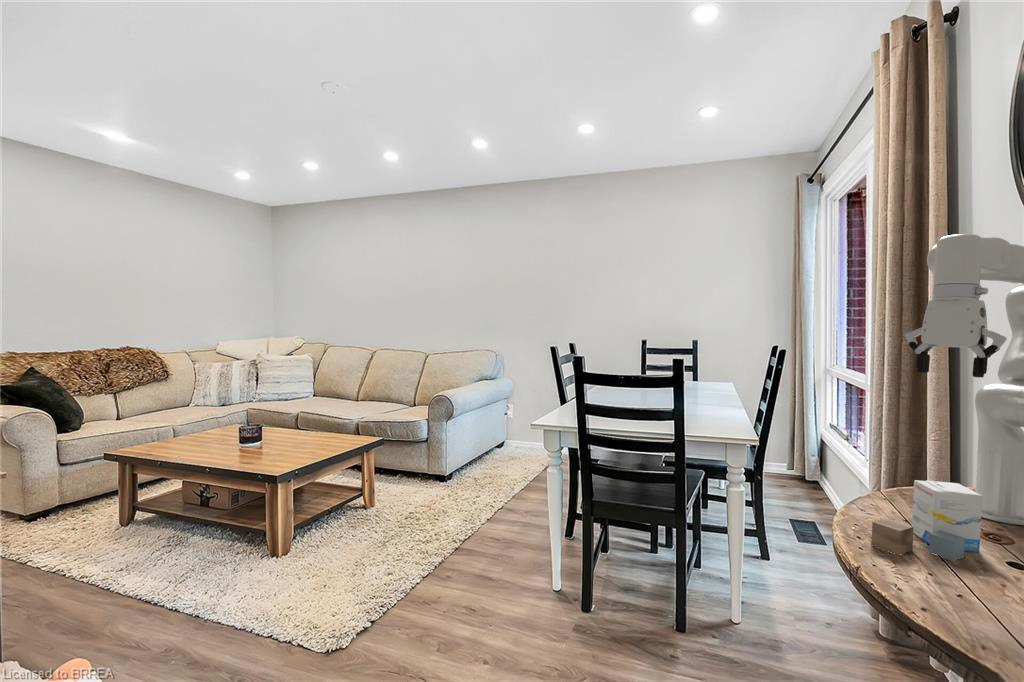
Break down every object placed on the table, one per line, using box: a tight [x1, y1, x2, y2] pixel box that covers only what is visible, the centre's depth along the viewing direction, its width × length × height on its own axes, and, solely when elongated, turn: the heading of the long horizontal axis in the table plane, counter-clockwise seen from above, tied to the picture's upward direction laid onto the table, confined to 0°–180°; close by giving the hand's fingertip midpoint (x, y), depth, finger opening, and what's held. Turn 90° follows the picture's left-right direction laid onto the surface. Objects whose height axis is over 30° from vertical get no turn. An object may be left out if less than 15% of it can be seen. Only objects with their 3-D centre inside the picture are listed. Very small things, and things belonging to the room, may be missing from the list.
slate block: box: [928, 530, 965, 562], centre depth 102 cm, size 4×4×4 cm
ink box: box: [911, 479, 983, 553], centre depth 109 cm, size 9×8×12 cm
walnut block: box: [870, 517, 914, 556], centre depth 105 cm, size 5×5×5 cm
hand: (949, 374), depth 111 cm, fingers open, 9 cm apart
